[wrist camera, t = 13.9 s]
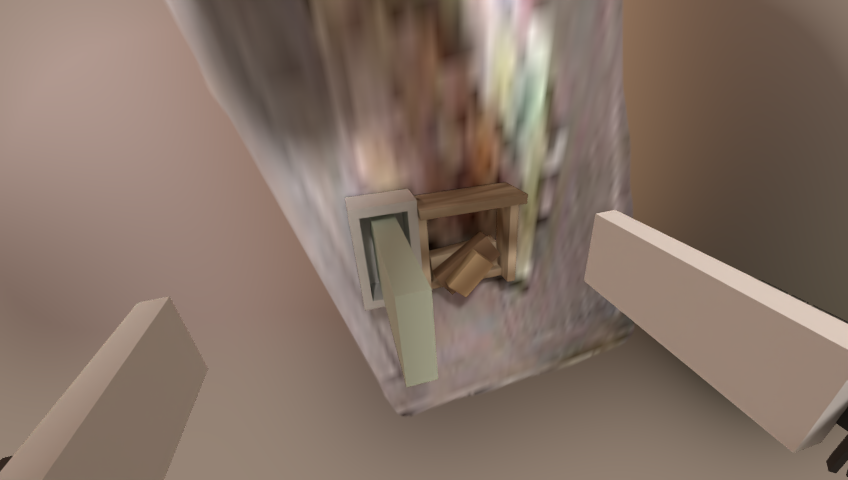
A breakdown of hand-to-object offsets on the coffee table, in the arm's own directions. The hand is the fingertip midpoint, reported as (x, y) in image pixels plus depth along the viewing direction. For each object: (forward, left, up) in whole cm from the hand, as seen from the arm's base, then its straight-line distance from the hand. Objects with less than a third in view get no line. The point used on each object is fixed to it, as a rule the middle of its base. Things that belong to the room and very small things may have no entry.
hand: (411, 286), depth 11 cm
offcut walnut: (+18, +13, -32) cm, 39 cm away
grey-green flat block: (+14, +2, -33) cm, 36 cm away
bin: (+14, +2, -34) cm, 37 cm away
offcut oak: (+19, +13, -30) cm, 37 cm away
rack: (+15, +13, -34) cm, 39 cm away
